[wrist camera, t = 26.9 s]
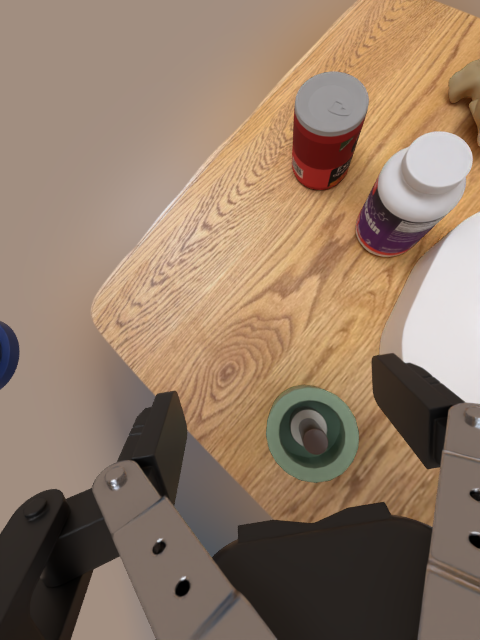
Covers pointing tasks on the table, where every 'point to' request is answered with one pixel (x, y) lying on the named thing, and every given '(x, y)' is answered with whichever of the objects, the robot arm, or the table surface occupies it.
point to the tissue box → (442, 313)
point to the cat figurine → (467, 89)
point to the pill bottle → (414, 193)
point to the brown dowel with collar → (309, 429)
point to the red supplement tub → (327, 128)
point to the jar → (338, 433)
